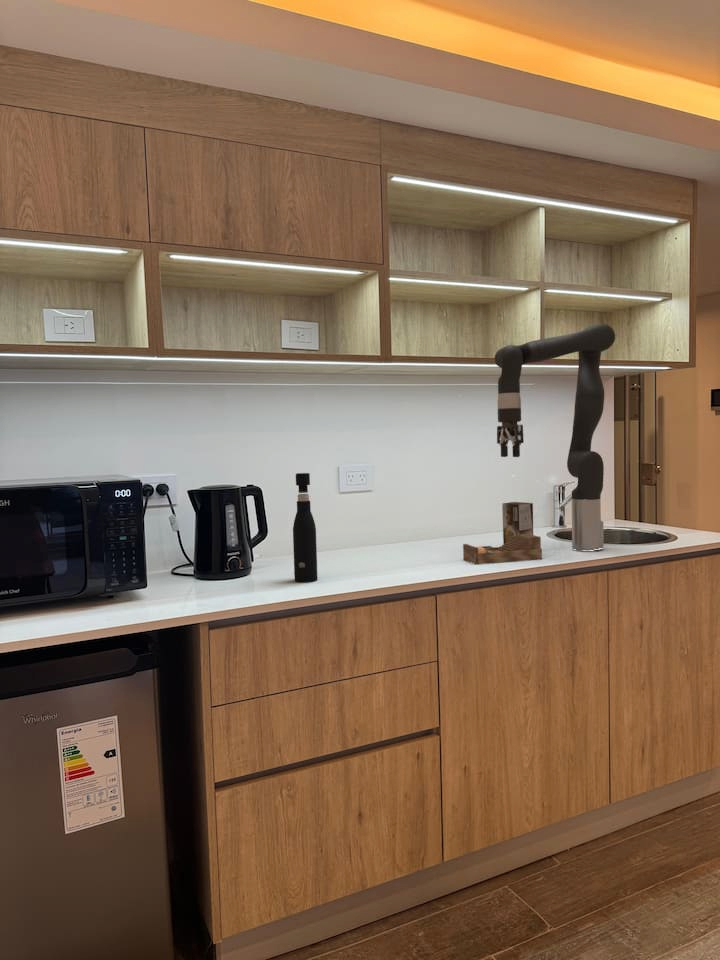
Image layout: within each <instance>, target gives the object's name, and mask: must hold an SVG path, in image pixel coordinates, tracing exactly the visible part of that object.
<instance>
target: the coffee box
mask: <svg viewBox="0 0 720 960" xmlns="http://www.w3.org/2000/svg"><path fill="white" fill-rule="evenodd" d="M501 505H502V539H503V540H502V541H503V544H502V545H504V543H507V541H510V540H512V538H515V536H517V535H518V534H531V535H534V503H533V502H523V501H511V502H502V503H501Z"/></svg>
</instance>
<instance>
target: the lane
mask: <svg viewBox="0 0 720 960" xmlns="http://www.w3.org/2000/svg"><path fill="white" fill-rule="evenodd" d="M541 539H542V538H541V536H538V535H535V534H533V535H531V534H518V535H517V536H515V538H512V540H510V541H507V543H504V545H503V544H501V546H497V547H494V546H493V547H494V548H484V549H485V551H486V553H478V548H477V547H478V546H473V545H471V544H469V543H463V544H462V547H463V548H462V550H463V552H462V553H463V557H462V559H463V560H464V561H466V560H467V561H466V562H468V561H469V562H468V563H471V562H472V563H471V564H473V563H474V565H483V564H482V563H487V564H498V563H499V562H500V563H509V562H510V563H512V562H525V560H527V561H537V560H538V559H540V560H542V559H543V551H542V543H541V542H542V540H541Z"/></svg>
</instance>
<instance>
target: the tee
mask: <svg viewBox="0 0 720 960" xmlns="http://www.w3.org/2000/svg"><path fill="white" fill-rule="evenodd" d="M481 547H482V548H494V546H490V545H486V546H484V545H483V546H481Z"/></svg>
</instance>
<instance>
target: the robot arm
mask: <svg viewBox="0 0 720 960" xmlns="http://www.w3.org/2000/svg"><path fill="white" fill-rule="evenodd" d="M615 341H616V333H615V330H614V328H613V327H612V326H610V325H608V324H606V323H596V324H593V325H591V326H588V327H586V328H584V329H583V330H579V331H575V332H573V333H569V334H565V335H558V336H553V337H552V336H551V337H545V338H542V339H535V340H531V341H528V342H525V343H523V344H518V345H516V344H509V345H506V346H503V347H501V348H500V349H498V350H497V351H496V353H495V354H494V363H495V364H496V366H497V367H498V368H501V373H500V376H499V377H498V381H497V422H498V423H501V425H497V426H496V444H498V445H499V446H500V457H501V458H507V457H508V456H509V455H508V454H509V450H508V448H509V447H508V443H509V441H510V442H511V444H512V446H511V447H512V458H520V457H521V455H520V454H521V448H520V446H521V445H522V444H523V443H524V442H525V441H524V426H523V424H519V423H520V422H521V421H522V399H521V385H520V384H521V383H520V382H521V381H520V379H521V375H522V374H521V373H522V368H523V365H526V364H532V363H533V364H534V363H539V362H544V361H549V360H552V359H556V358H559V357H562V356H566V355H570V354H573V353H578V354H577V355H578V369H577V370H578V371H577V379H576V388H575V389H576V390H575V398H574V399H575V400H574V409H573V410H574V412H573V413H574V414H573V423H572V431H571V432H572V433H571V441H570V445H569V450H568V456H567V460H566V461H567V462H566V467H567V471H568V472H569V474H570V475H571V476H572V477H574V478H577V483H576V484H577V486H576V487H575V488H573V490H572V491H571V546H572V547H571V549H572V550H573V549H576V550H594V549H599V548H603V547H604V546H605V545H604V543H605V542H604V539H605V538H604V534H605V533H604V521H603V520H602V519H601V518H602V517H601V516H602V514H601V509H602V508H601V507H602V506H601V505H602V504H601V501H602V499H601V498H602V497H601V494H602V492H603V489H604V475H605V473H604V472H605V470H604V469H605V467H604V466H605V465H604V461H603V458H602V456H601V455H600V453H599V452H597V451H594V450H592V441H593V440H592V439H593V436H594V433H595V431H596V429H597V427H598V425H599V422H600V421H601V418H602V415H603V413H604V407H605V406H604V404H605V388H604V387H605V386H604V383H603V379H602V376H601V371H600V363H601V356H602V352H605V351H607V350H608V349H610V348H611V347H612V346H613V344H614V343H615ZM604 548H605V547H604ZM576 550H575V551H576Z"/></svg>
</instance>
